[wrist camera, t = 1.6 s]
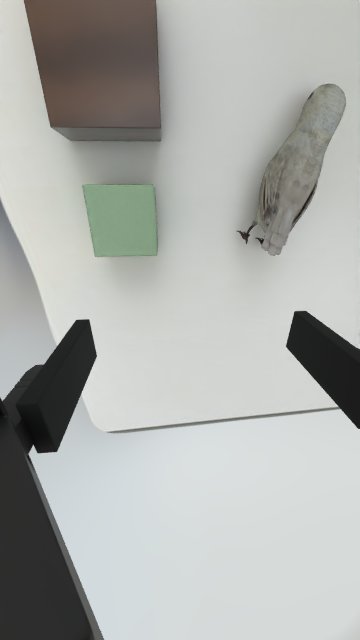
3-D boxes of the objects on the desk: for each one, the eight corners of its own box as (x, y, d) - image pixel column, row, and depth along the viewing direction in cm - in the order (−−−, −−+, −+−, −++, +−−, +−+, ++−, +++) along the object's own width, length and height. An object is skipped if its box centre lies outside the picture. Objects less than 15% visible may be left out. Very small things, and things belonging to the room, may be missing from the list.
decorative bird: (332, 109, 26) (392, 77, 19) (265, 250, 32) (292, 262, 26) (292, 87, 24) (340, 44, 18) (230, 237, 31) (249, 247, 24)
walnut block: (44, 2, 21) (12, -54, 16) (155, 6, 21) (154, -46, 17) (69, 140, 25) (50, 127, 21) (160, 141, 26) (160, 128, 21)
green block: (96, 188, 27) (82, 184, 22) (154, 187, 28) (153, 184, 23) (105, 248, 30) (94, 256, 26) (157, 247, 31) (157, 255, 26)
